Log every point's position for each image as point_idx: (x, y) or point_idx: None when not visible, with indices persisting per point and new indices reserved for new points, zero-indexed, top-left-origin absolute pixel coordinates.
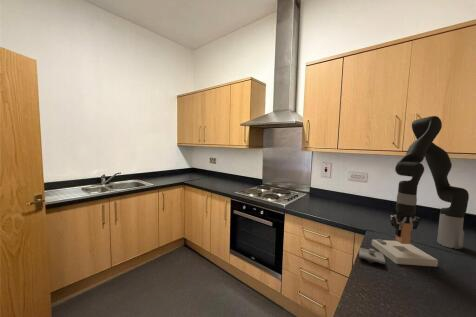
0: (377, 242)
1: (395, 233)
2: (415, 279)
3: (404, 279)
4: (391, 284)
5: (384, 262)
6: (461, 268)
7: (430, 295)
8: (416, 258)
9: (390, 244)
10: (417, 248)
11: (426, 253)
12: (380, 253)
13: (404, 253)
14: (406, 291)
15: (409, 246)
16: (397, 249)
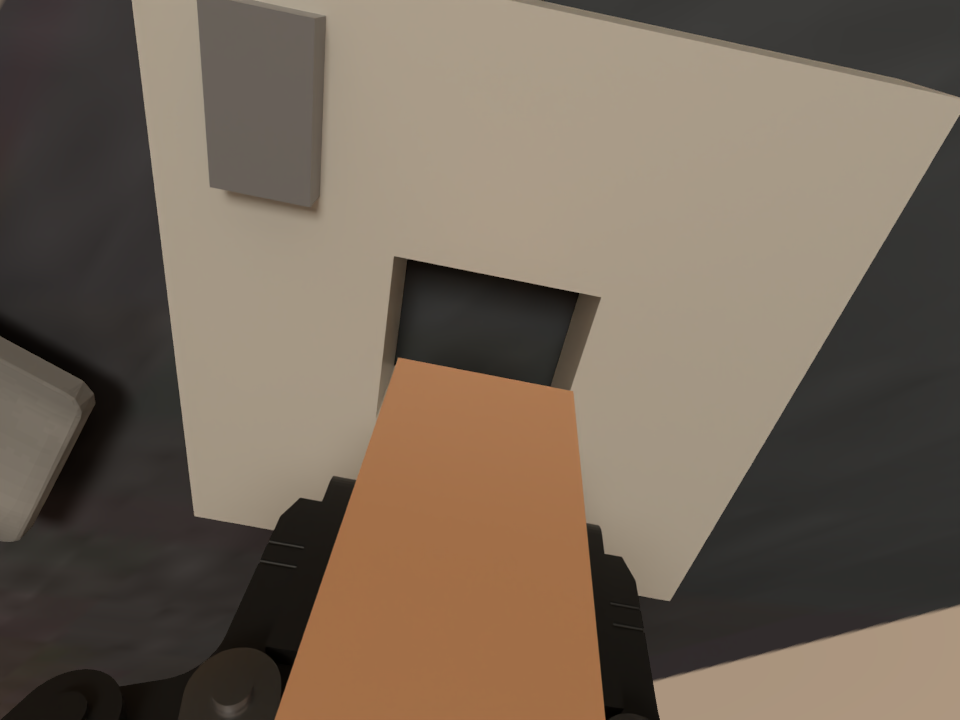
0: (174, 100)
1: (279, 521)
2: (232, 613)
3: (141, 603)
4: (7, 620)
5: (5, 541)
6: (890, 581)
7: None
8: None
9: (404, 209)
10: (793, 377)
11: (731, 496)
12: (37, 420)
13: None
14: (73, 664)
15: (730, 307)
16: (378, 371)
